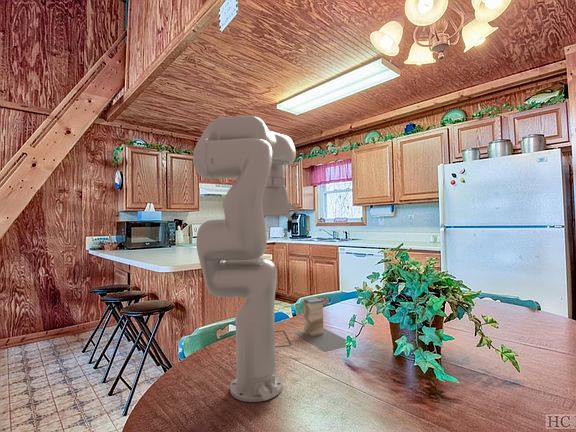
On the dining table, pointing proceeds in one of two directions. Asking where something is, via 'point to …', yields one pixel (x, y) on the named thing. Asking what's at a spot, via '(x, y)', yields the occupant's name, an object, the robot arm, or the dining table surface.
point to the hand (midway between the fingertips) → (275, 232)
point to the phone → (287, 338)
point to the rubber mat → (324, 340)
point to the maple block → (313, 316)
